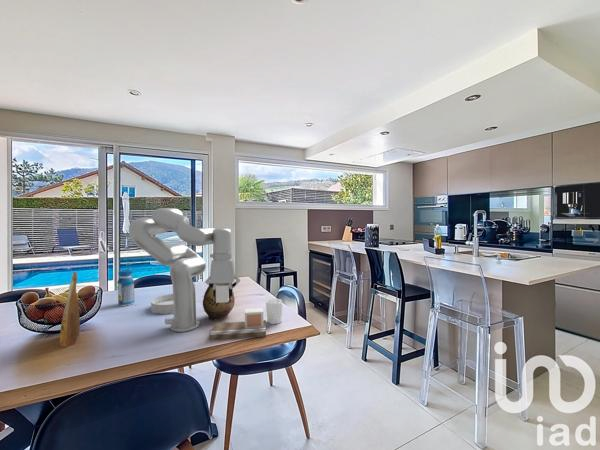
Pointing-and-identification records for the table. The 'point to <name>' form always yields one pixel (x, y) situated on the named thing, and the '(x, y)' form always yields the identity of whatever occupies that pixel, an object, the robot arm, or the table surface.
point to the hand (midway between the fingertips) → (223, 297)
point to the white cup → (274, 311)
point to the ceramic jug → (216, 306)
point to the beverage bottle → (125, 288)
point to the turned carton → (222, 293)
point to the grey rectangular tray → (235, 331)
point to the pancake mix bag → (70, 316)
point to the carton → (254, 318)
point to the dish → (163, 304)
